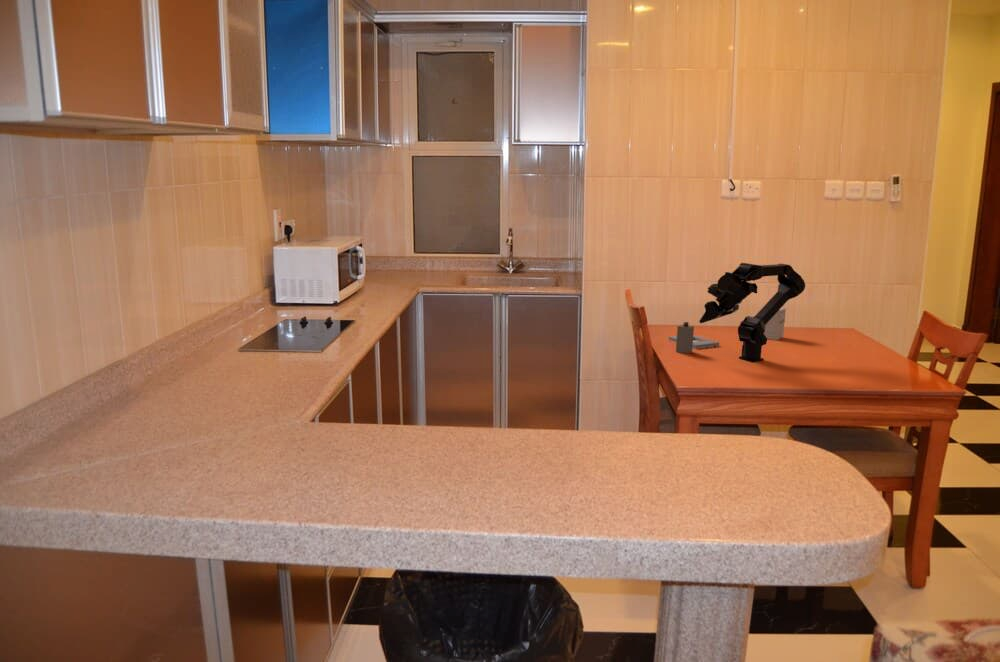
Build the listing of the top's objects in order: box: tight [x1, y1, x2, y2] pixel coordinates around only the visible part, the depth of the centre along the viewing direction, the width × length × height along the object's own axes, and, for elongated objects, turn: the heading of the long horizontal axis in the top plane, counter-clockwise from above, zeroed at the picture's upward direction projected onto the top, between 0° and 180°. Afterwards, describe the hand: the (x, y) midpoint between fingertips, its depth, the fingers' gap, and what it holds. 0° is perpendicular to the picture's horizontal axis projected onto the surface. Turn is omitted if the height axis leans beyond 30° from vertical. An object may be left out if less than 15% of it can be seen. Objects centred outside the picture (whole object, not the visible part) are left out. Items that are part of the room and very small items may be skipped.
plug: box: [675, 321, 695, 355], centre depth 296 cm, size 4×4×12 cm
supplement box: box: [764, 307, 787, 341], centre depth 324 cm, size 7×7×13 cm
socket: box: [668, 334, 720, 350], centre depth 312 cm, size 16×12×2 cm
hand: (705, 320), depth 290 cm, fingers open, 9 cm apart
